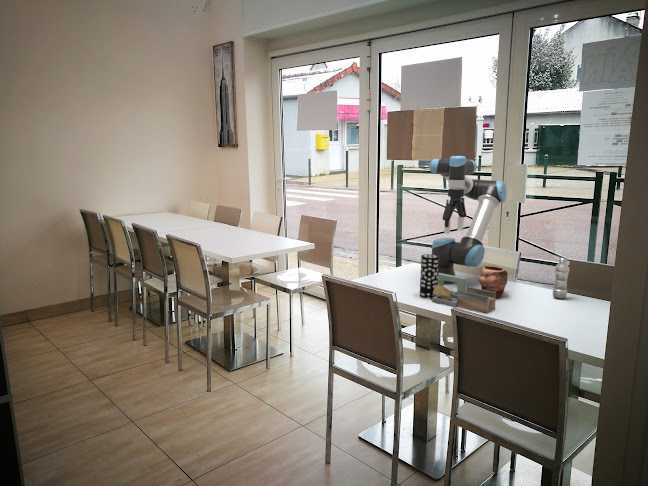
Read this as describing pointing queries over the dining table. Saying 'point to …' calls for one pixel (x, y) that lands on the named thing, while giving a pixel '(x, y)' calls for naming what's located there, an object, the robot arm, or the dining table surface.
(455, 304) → the tray
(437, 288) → the yellow rock
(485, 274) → the decorative planter
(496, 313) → the dining table surface
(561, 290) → the plastic bottle
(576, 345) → the dining table surface
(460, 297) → the slot ledge
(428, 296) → the spotted tube
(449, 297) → the brass block
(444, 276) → the mint green arch block
